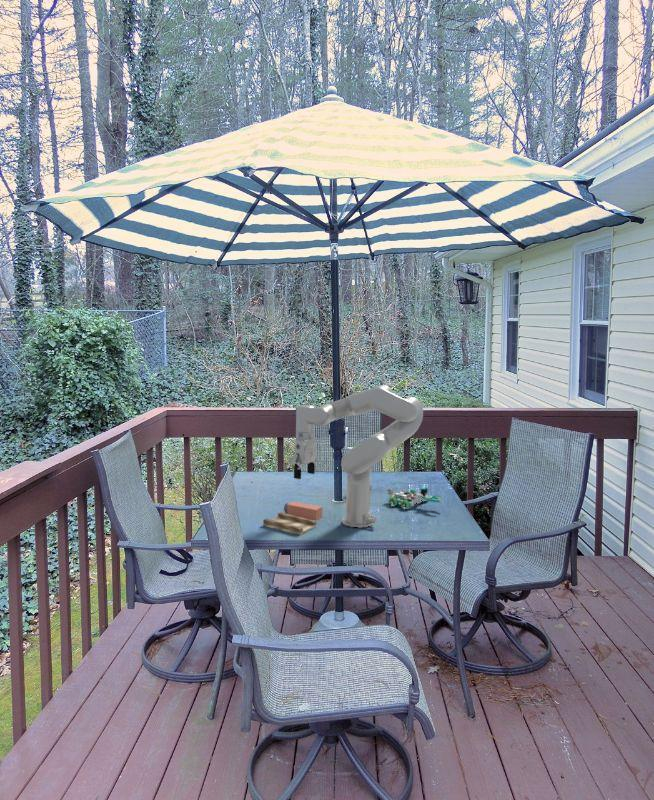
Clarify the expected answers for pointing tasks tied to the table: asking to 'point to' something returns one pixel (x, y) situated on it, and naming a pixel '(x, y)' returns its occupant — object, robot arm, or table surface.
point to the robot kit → (411, 497)
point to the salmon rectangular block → (303, 510)
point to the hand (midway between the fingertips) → (304, 475)
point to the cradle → (290, 523)
